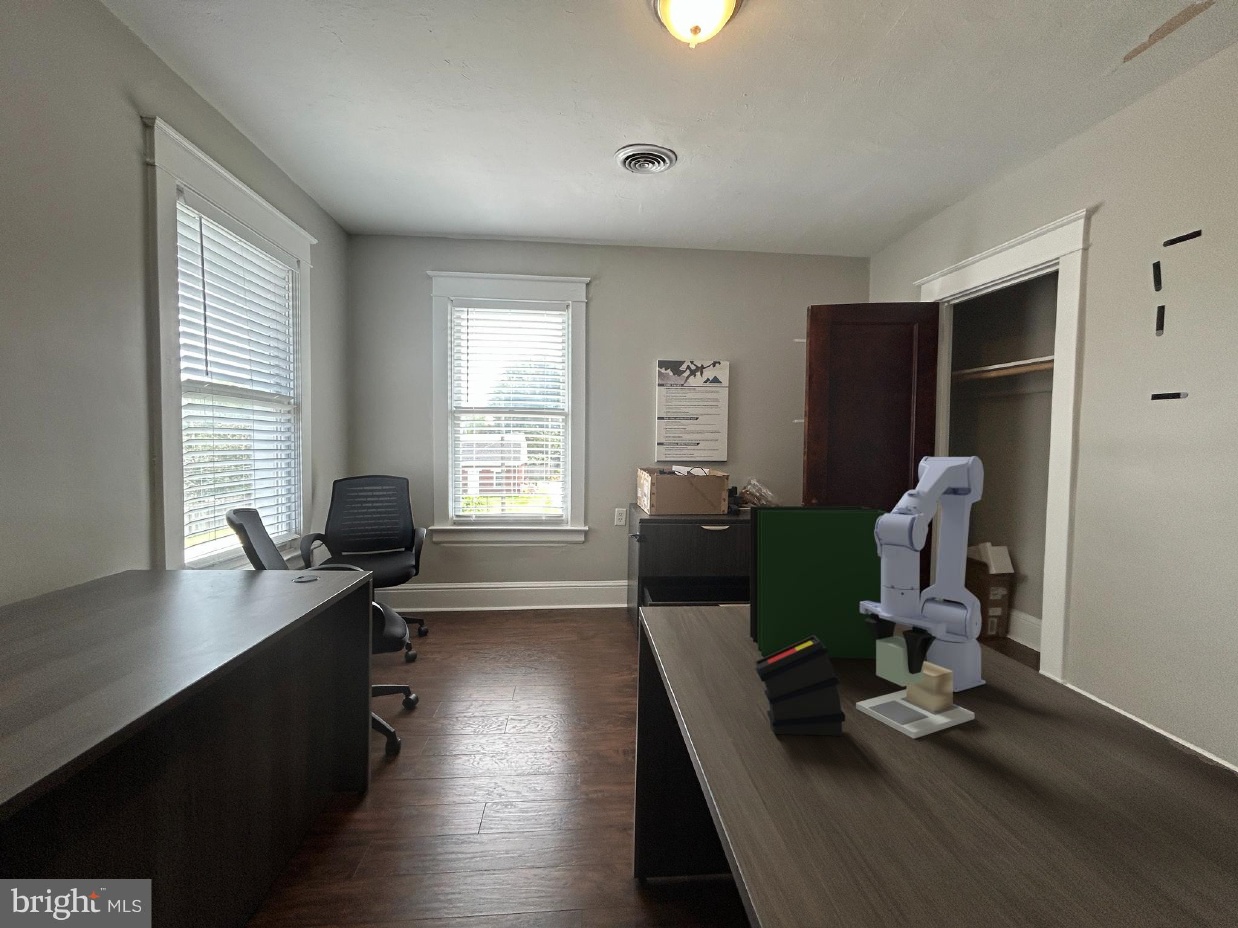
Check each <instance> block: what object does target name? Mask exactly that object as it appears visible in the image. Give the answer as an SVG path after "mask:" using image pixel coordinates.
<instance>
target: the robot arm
mask: <svg viewBox="0 0 1238 928" xmlns="http://www.w3.org/2000/svg"><path fill="white" fill-rule="evenodd" d="M917 471H918V475H917V476H918V481H919V482H918V483H917V486H916V487H915V489H909V490H908V491H906V492H905V493H904V494H903V495H902V497H901V498H900V500H899V501H898V503H896V505H895V507H893V509H892V511H891V512H889V513H886V514H884V515H883V516H880V517H879V518H878V519H877V522H876V525H875V530H874V535H875V540H876V543H877V547H878V556H880V557H881V604H880V603H875V602H871V601H862V602H860V613H863V614H867V613H868V614H870V617H869V618H868V619H865V624H866V626H867V627H868V629H869V631H870V633H871V635H872V637H873V639H874V642H875V645H876V640H879V639H883V638H888V637H893V636H894V632H895V628H896V624H900V625H903V626H906V627H909V628H911V629H907V630H903V631H902V635H903V636H902V637H903V638H904V639H905V642H906V646H907V653H908V669H909V673H911V674H916V673H920V672H921V669H922V666H923V662H924V661H925V659H926V662H929V663H932V664H935V665H937V666H940V667H943V668H945V669H948V670H951V671H953V692H954V693H957V692H962V691H964V690H969V689H972V688H975V687H978V686H981V685H985V684H987V681H986V680H985V679H982V648H981V645H980V644H979V641H978V640H977V638H978V637H979V635H980V633H981V629H982V614H981V603H980V600H979V599H978V598H977V597H976V595H974V594H973V593H972V592H970V591H969V590H968V588H966V587H965V583H966V582H965V581H966V567H967V556H968V540H969V528H970V514H971V511H972V510H971V509H972V505H973V504H974V503H976V502H978V501H980V500H982V495H983V489H984V476H985V475H984V474H985V472H984V465H983V463H982V460H981V459H980V458H979V457H978V456H977V455H974V456H926V455H925V456H923V458H922V459H921V461H920V462H919V464H918V470H917ZM937 501H938V502H939V503H940V505H941V515H940V516H941V517H940V526H939V527H940V528H939V537H938V538H939V540H938V549H937V565H936V573H935V574H936V576H935V583H934V584H933V585H931V586H929V587H927V588H925V589H924V590H922V591H921V593H920V563H921V561H920V560H921V559H920V553H921V552H920V551H922V549H923V548H924V547H925V544H926V539H927V535H928V533H929V532H928V531H929V527H928V525H929V523H930V522H931V521H932V520H933V517H934V516H935V514H936V513H937V511H938V502H937ZM939 599H943V600H944V601H943V600H939ZM945 600H949V601H954V602H958V603H954V602H948V601H945ZM960 603H961V604H960Z"/></svg>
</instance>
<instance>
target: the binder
mask: <svg viewBox="0 0 1238 928" xmlns="http://www.w3.org/2000/svg"><path fill="white" fill-rule="evenodd" d="M749 507H750V508H749V511H750V512H749V519H750V520H749V525H750V526H749V530H750V531H749V637H750V638H752V642H754V643H755V642H756V643H757V651H760V656H761V657H763V656H764V657H766V656H768V655H771V654H773V653H775V652H777V651H780V650H782V649H784V648H786V647H788V646H791V645H793V644H795V643H797V642H799V641H802V640H804V639H806V638H808V637H810V636H813V635H815V636H816V637H817V638H818V639H819V640H820V642H821V643H822V644H823V645H824V646H825V647H826V648H827V650H828V653H826V654H827V656H828V658H836V659H837V658H840V659H841V658H842V659H844V658H845V659H875V660H876V645H875V642H874V639H873V637H872V635H871V633H870V631H869V629H868V627H867V626H866V624H865V619H868V618H869V617H870V614H868V613H867V614H863V613H860V602H862V601H871V602H875V603H880V604H881V557H880V556H878V547H877V543H876V540H875V535H874V530H875V525H876V522H877V519H878V518H879V517H880V516H883V515H884V514H886V513H889V514H890V512H887V511H883V510H879V509H872V508H870V507H867V506H851V505H849V506H848V505H846V506H845V505H844V506H838V505H837V506H828V505H827V506H826V505H824V506H821V505H819V506H813V505H812V506H811V505H810V506H806V505H805V506H800V505H799V506H792V505H791V506H790V505H789V506H788V505H787V506H783V505H782V506H778V505H777V506H775V505H774V506H765V505H764V506H762V505H761V506H759V505H758V506H751V505H750V506H749Z"/></svg>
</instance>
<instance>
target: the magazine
mask: <svg viewBox="0 0 1238 928" xmlns="http://www.w3.org/2000/svg"><path fill="white" fill-rule="evenodd" d="M826 653H828V650H827V648H826V647H825V646H824V645H823V644H822V643H821V642H820V640H819V639H818V638H817V637H816V636H815V635H813V636H810V637H808V638H806V639H804V640H802V641H799V642H797V643H795V644H793V645H791V646H788V647H786V648H784V649H782V650H780V651H777V652H775V653H773V654H771V655H768V656H764V657H762V658H760V659H758V660H756V661H754V664H755V666H756V667H755V670H756V673H757V675H758V677H759V679H760V681H761V683H762V682H764V685H765V690H764V695H765V697H766V699H767V701H768V704H769V710H767V713H766V714H767V717H768V719H769V722H770V723H769V725H770V727H771V729H772V731H773V733H774V734H775V735H793V736H794V735H796V736H797V735H798V736H799V735H800V736H835V737H836V736H837V737H838V736H839V737H840V736H843V722H846V714H845V713H844V711H843V710H842V704H841V697H840V692H839V687H838V685H840V679H839V677H838V676H837V675H836V674H835V672H834V669H833V666H832V663H831V661H830V658H829V657H828V656H827V654H826Z"/></svg>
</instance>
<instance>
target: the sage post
mask: <svg viewBox="0 0 1238 928" xmlns="http://www.w3.org/2000/svg"><path fill="white" fill-rule="evenodd" d="M875 660H876V661H875V665H876V666H875V667H876V668H875V675H876V676H878V677H879V678H882V679H885V680H887V681H889V682H891V683H893V684H896V685H898V686H900V687H907V685H911V684H914V683H918V682H922V681H923V669H924V662H923V666H922V669H921V672H920V673H916V674H911V673H909V669H908V653H907V646H906V642H905V639H904V637H903V636H902V637H901V636H899V635H893V637H888V638H883V639H879V640H876V659H875Z"/></svg>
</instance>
